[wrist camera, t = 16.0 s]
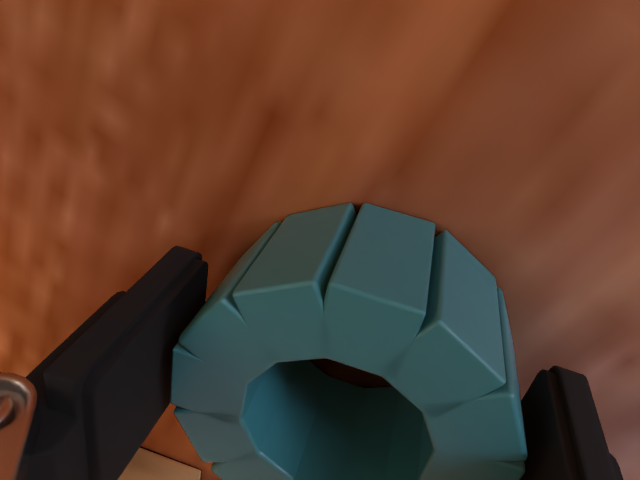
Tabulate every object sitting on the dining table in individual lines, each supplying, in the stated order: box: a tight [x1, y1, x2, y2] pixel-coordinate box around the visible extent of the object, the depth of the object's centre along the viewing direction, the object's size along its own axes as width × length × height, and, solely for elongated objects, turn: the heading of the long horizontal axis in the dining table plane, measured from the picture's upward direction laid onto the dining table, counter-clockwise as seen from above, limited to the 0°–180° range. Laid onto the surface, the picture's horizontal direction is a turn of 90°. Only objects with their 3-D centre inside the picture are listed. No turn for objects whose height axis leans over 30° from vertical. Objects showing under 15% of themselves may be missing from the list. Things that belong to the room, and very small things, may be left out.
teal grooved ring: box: [170, 203, 528, 480], centre depth 10 cm, size 6×6×3 cm
